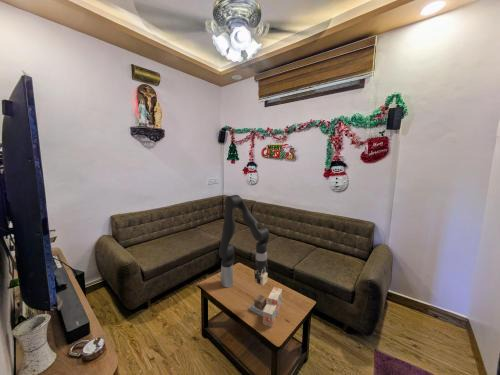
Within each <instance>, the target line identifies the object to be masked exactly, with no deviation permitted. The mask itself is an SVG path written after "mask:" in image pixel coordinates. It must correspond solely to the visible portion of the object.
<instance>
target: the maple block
mask: <svg viewBox="0 0 500 375" xmlns="http://www.w3.org/2000/svg"><path fill="white" fill-rule="evenodd" d="M258 273H259V272H258ZM259 274H260V273H259ZM268 274H269V273H268V272H267V271H266V272H262V275H261V277H260V284H258V283H257V279H255V278H254V283H256V284H257V285H260V286H262V287H263V286H265V284H266V283H267V282H268Z"/></svg>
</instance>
